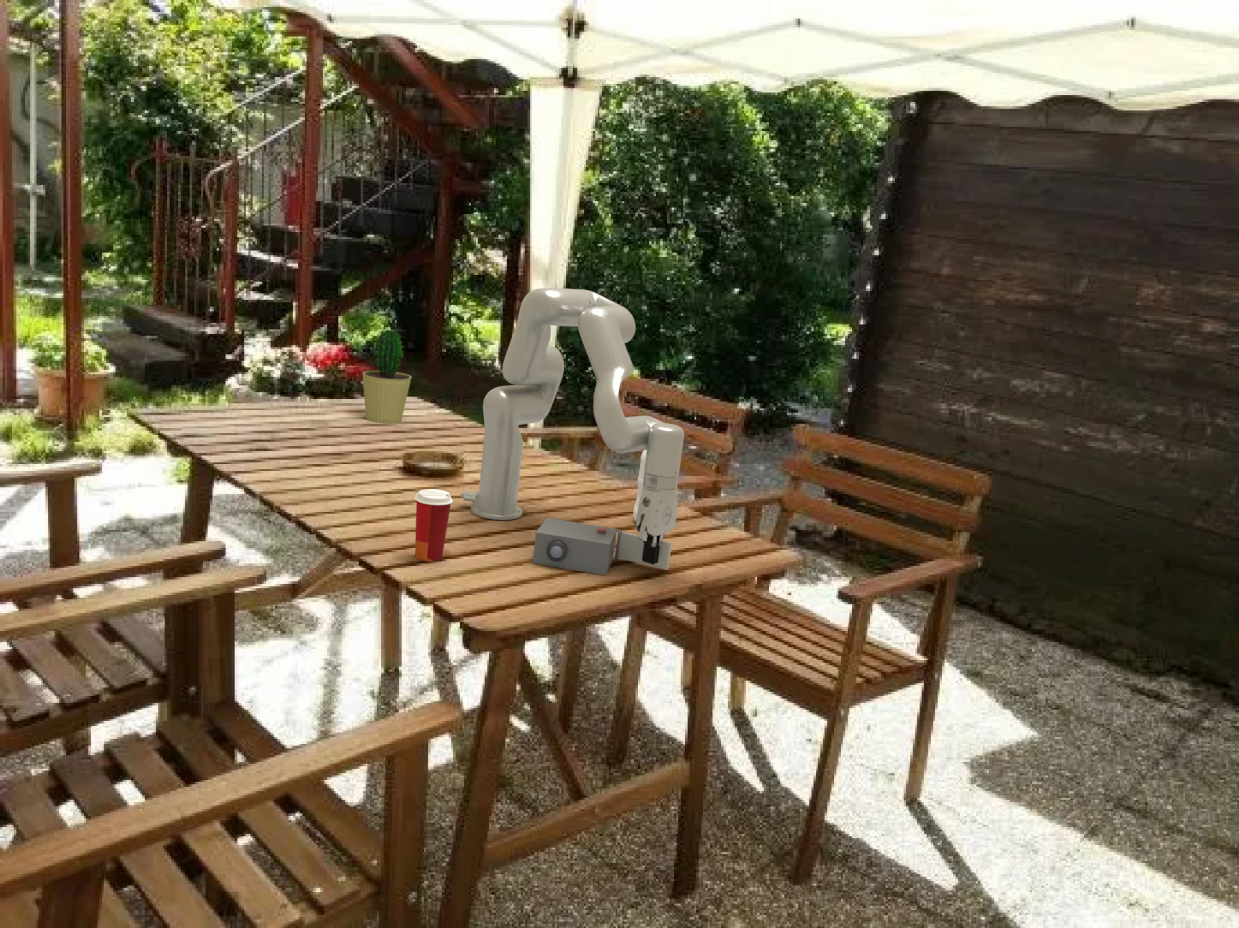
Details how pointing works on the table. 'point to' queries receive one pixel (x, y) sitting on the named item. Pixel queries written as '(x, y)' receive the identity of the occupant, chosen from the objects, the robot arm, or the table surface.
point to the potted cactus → (386, 382)
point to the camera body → (574, 546)
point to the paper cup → (431, 523)
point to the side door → (639, 550)
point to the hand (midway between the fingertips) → (649, 561)
